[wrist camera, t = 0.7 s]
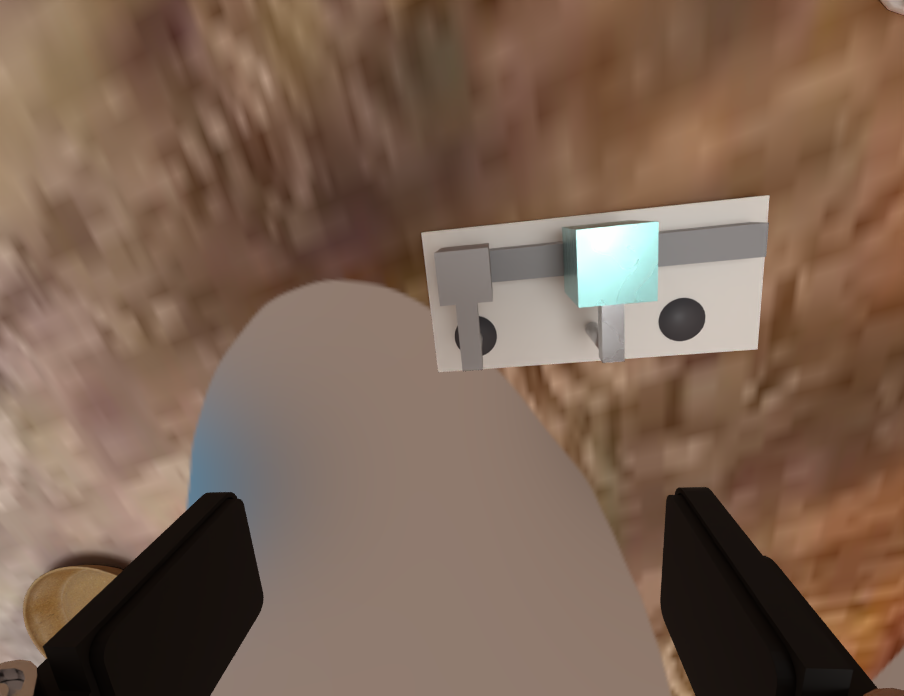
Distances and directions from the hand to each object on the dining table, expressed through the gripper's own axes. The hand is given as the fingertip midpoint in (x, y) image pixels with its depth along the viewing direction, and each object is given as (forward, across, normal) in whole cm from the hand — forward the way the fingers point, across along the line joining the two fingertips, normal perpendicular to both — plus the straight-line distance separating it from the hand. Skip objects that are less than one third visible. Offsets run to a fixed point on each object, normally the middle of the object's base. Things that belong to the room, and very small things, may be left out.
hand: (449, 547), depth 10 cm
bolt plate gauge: (+25, -7, -2) cm, 26 cm away
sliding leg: (+23, -7, -2) cm, 24 cm away
